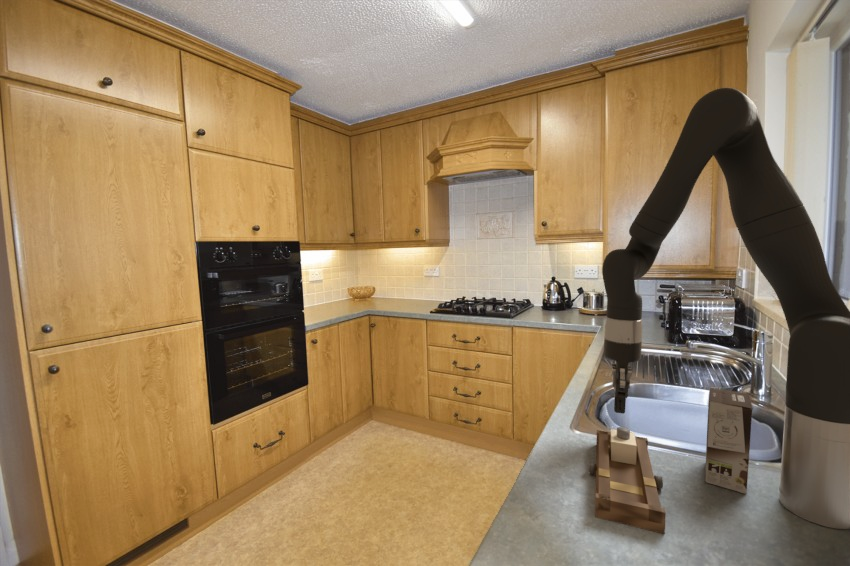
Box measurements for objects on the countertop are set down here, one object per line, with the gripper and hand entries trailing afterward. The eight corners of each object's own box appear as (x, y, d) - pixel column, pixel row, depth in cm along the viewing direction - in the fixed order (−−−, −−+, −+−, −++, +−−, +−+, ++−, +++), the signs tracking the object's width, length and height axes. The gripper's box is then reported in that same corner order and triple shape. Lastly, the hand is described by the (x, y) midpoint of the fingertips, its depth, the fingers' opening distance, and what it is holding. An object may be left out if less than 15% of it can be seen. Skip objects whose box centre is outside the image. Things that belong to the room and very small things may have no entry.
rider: (633, 450, 83) (634, 425, 82) (636, 465, 77) (636, 438, 77) (610, 446, 85) (610, 421, 84) (611, 460, 79) (611, 433, 79)
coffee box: (748, 495, 70) (753, 408, 69) (704, 482, 74) (708, 400, 73) (745, 471, 77) (750, 392, 76) (705, 461, 81) (709, 386, 80)
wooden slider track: (653, 454, 84) (653, 438, 84) (673, 536, 61) (674, 513, 60) (590, 443, 89) (591, 428, 89) (587, 515, 66) (587, 494, 65)
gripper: (645, 346, 80) (640, 427, 82) (638, 333, 92) (635, 403, 94) (604, 342, 83) (601, 420, 85) (604, 330, 95) (601, 398, 97)
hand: (619, 411), depth 89 cm, fingers closed
